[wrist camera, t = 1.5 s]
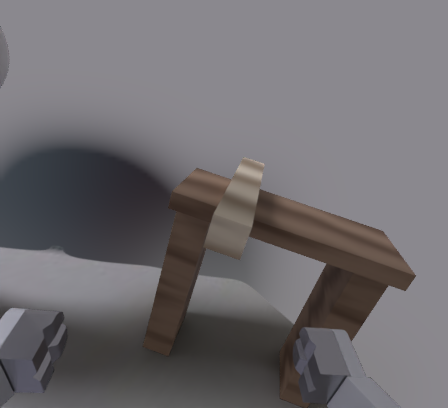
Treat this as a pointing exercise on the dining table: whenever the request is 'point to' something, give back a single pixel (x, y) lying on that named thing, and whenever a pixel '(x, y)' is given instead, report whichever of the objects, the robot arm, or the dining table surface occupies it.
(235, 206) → the birch bar
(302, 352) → the robot arm
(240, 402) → the dining table surface
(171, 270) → the walnut shelf
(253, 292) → the dining table surface
